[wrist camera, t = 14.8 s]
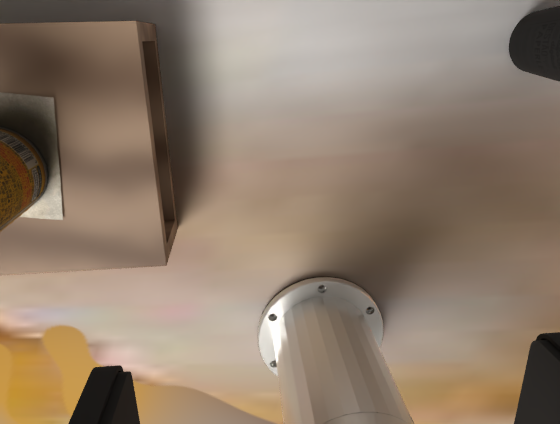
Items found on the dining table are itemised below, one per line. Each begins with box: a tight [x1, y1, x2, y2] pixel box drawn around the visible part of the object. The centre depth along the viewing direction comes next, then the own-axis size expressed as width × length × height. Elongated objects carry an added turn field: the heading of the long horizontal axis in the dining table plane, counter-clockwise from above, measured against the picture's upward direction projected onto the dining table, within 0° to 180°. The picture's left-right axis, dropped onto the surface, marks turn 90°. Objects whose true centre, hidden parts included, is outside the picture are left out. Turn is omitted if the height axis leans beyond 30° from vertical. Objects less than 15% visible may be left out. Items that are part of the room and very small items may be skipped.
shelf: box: [0, 21, 178, 276], centre depth 34 cm, size 17×20×7 cm
